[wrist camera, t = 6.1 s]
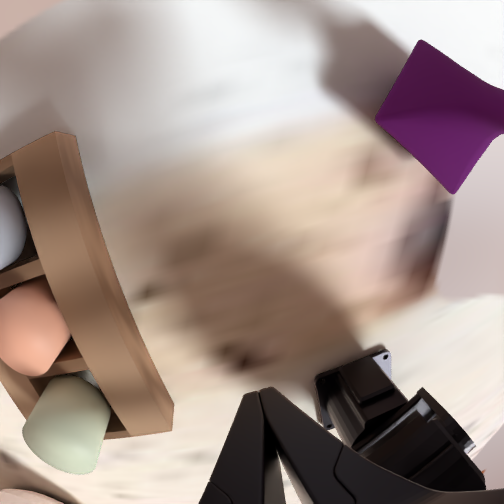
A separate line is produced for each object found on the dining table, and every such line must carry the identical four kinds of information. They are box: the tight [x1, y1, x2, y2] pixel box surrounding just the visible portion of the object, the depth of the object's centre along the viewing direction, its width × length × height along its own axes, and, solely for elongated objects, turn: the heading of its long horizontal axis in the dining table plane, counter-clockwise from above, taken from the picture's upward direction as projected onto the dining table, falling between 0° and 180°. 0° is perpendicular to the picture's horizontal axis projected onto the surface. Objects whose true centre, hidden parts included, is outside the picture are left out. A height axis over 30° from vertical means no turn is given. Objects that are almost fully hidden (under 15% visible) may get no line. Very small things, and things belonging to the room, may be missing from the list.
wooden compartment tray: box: [0, 131, 174, 440], centre depth 17 cm, size 20×12×3 cm, turn 14°
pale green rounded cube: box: [22, 375, 111, 475], centre depth 16 cm, size 5×5×5 cm
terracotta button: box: [0, 274, 72, 376], centre depth 16 cm, size 5×5×5 cm
